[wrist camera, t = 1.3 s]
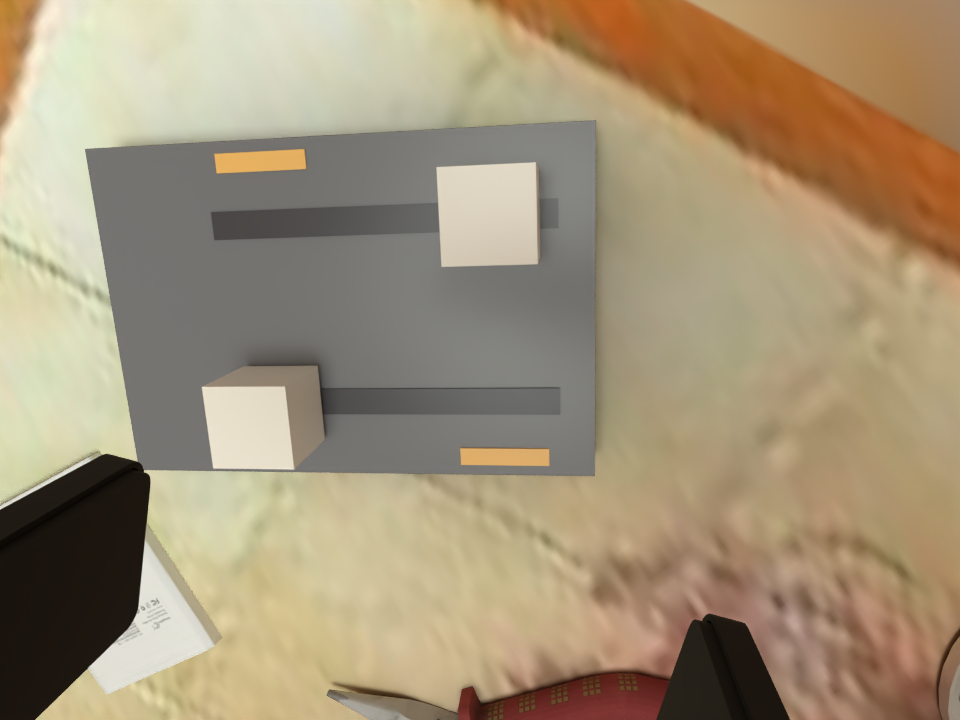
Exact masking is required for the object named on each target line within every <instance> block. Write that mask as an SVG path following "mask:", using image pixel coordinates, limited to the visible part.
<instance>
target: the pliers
mask: <svg viewBox="0 0 960 720" xmlns="http://www.w3.org/2000/svg"><path fill="white" fill-rule="evenodd" d="M669 682H670V681H668V680H663V679H658V678H654V677H649V676H645V675H640V674H635V673H611V674H603V675H596V676H591V677H586V678H582V679H578V680H574V681H571V682H567V683H563V684H560V685H556V686H552V687H549V688H545V689H541V690H538V691H534V692H530V693H527V694H523V695H519V696H516V697H512V698H508V699H505V700H501V701H497V702H494V703H490V704H486V705H483V706H482V705H481V703H480V701H479V699H478V696H477V694H476V692H475V690H474V688H473V687H469V688H465V689H462V691H461V697H460V702H459V707H458V714H456V713H453V712H450V711H447V710H444V709H442V708H439V707H436V706H433V705H430V704H427V703H423V702H419V701H415V700H411V699H403V698H394V697H386V696H378V695H370V694H362V693H354V692H346V691H338V690H329V691H328V693H327V696H328V697H330V698H332V699H334V700H336V701H338V702H339V703H341V704H343V705H345V706H347V707H348V708H350V709H352V710H354V711H356V712H358V713H359V714H361V715H363V716H365V717H367V718H369V719H370V720H656V719H657V716H658V713H659V710H660V707H661V705H662V702H663V699H664V696H665V693H666V690H667V688H668V685H669Z"/></svg>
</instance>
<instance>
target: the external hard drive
mask: <svg viewBox="0 0 960 720" xmlns="http://www.w3.org/2000/svg"><path fill="white" fill-rule="evenodd" d="M99 456H101V453H100V452H97V453H95V454H93V455H91V456H89V457H88V458H86V459H84V460H82V461H80V462H79V463H77V464H75V465H73V466H71V467H69V468H68V469H66V470H64V471H62V472H60V473H59V474H57V475H55V476H53V477H51V478H50V479H48V480H46V481H44V482H42V483H40V484H39V485H37V486H35V487H33V488H31V489H30V490H28V491H26V492H24V493H22V494H21V495H19V496H17V497H15V498H13V499H12V500H10V501H8V502H6V503H4V504H2V505H1V506H0V509H2V508H4V507H6V506H8V505H10V504H11V503H13V502H15V501H17V500H19V499H21V498H23V497H24V496H26V495H28V494H30V493H32V492H34V491H36V490H37V489H39V488H41V487H43V486H45V485H47V484H49V483H51V482H52V481H54V480H56V479H58V478H60V477H62V476H64V475H65V474H67V473H69V472H71V471H73V470H75V469H77V468H79V467H80V466H82V465H84V464H86V463H88V462H90V461H92V460H93V459H95V458H97V457H99ZM220 639H221V635H220V633H219V632H218V630H217V629H216V627H215V626H214V624H213V623H212V621H211V620H210V618H209V617H208V615H207V614H206V612H205V611H204V609H203V608H202V606H201V605H200V603H199V601H198V600H197V598H196V597H195V595H194V594H193V592H192V591H191V589H190V588H189V586H188V585H187V583H186V582H185V580H184V579H183V577H182V576H181V574H180V573H179V571H178V569H177V568H176V566H175V565H174V563H173V562H172V560H171V559H170V557H169V556H168V554H167V553H166V551H165V550H164V548H163V547H162V545H161V544H160V542H159V541H158V539H157V538H156V536H155V535H154V533H153V532H152V530H151V529H150V527H149V526H148V524H146V534H145V545H144V555H143V565H142V576H141V586H140V597H139V606H138V611H137V614H136V616H135V618H134V620H133V622H132V624H131V625H130V627H129V628H128V629H127V630H126V631H125V632H124V633H123V634H122V635H121V636H120V637H119V638H118V639H117V640H116V641H115V642H114V643H113V644H112V645H111V646H110V647H109V648H108V649H107V650H106V651H105V652H104V653H103V654H102V655H101V656H100V657H99V658H98V659H97V660H96V661H95V662H94V663H93V664H92V665H91V666H90V667H89V668H88V669H89V671H90V672H91V674H92V675H93V676H94V678H95V679H96V681H97V682H98V684H99V685H100V686H101V688H102V689H103V691H104V692H105V693H106V694H110V693H112V692H115V691H117V690H119V689H121V688H124V687H126V686H128V685H130V684H132V683H134V682H137V681H139V680H141V679H144V678H146V677H148V676H150V675H153V674H155V673H157V672H160V671H162V670H164V669H166V668H169V667H171V666H173V665H175V664H178V663H180V662H182V661H185V660H187V659H189V658H191V657H194V656H196V655H198V654H200V653H203V652H205V651H207V650H209V649H210V648H212V647H214V646H215V645H216V644H217V642H218V641H219V640H220Z"/></svg>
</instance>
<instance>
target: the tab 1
mask: <svg viewBox="0 0 960 720" xmlns="http://www.w3.org/2000/svg"><path fill="white" fill-rule="evenodd" d="M202 392H203V399H204V406H205V413H206V421H207V428H208V435H209V442H210V449H211V456H212V463H213V468H214V469H289V470H294V469H295V468H296V467H297V466H298V465H299V464H300V463H301V462H302V461H303V460H304V459H305V458H307V457H308V456H309V455H310V454H311V453H312V452H313V451H314V450H315V449H316V448H317V447H318V446H319V445H320V444H321V443H322V442H323V441H324V440H325V435H324V425H323V415H322V404H321V394H320V384H319V374H318V366H243V367H241V368H239V369H237V370H235V371H233V372H231V373H229V374H227V375H225V376H223V377H221V378H219V379H217V380H215V381H213V382H211V383H209V384H207V385H205V386H202Z"/></svg>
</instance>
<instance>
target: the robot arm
mask: <svg viewBox="0 0 960 720" xmlns="http://www.w3.org/2000/svg"><path fill="white" fill-rule="evenodd" d="M149 493H150V476H149V475H148V474H147V473H144V469H143V466H142V464H140V463H139V462H136V461H133V460H129V459H125V458H121V457H117V456H114V455H110V454H104V455H101V456H99V457H97V458H95V459H93V460H92V461H90V462H88V463H86V464H84V465H82V466H80V467H79V468H77V469H75V470H73V471H71V472H69V473H67V474H65V475H64V476H62V477H60V478H58V479H56V480H54V481H52V482H51V483H49V484H47V485H45V486H43V487H41V488H39V489H37V490H36V491H34V492H32V493H30V494H28V495H26V496H24V497H23V498H21V499H19V500H17V501H15V502H13V503H11V504H10V505H8V506H6V507H4V508H2V509H0V720H35V719H36V718H37V717H38V716H39V715H40V714H41V713H42V712H43V711H44V710H45V709H47V708H48V707H49V706H50V705H51V704H52V703H53V702H54V701H55V700H56V699H57V698H58V697H59V696H60V695H61V694H62V693H63V692H64V691H65V690H66V689H67V688H68V687H69V686H70V685H71V684H72V683H73V682H74V681H75V680H76V679H77V678H78V677H79V676H80V675H81V674H82V673H83V672H84V671H85V670H87V669H88V668H89V667H90V666H91V665H92V664H93V663H94V662H95V661H96V660H97V659H98V658H99V657H100V656H101V655H102V654H103V653H104V652H105V651H106V650H107V649H108V648H109V647H110V646H111V645H112V644H113V643H114V642H115V641H116V640H117V639H118V638H119V637H120V636H121V635H122V634H123V633H124V632H125V631H126V630H127V629H128V628H129V627H130V625H131V624H132V622H133V620H134V618H135V616H136V614H137V611H138V606H139V597H140V586H141V576H142V565H143V555H144V545H145V534H146V524H147V513H148V503H149ZM939 710H940V713H941V717H942V720H960V637H959V638H958V639H957V641H956V642H955V643H954V645H953V646H952V648H951V650H950V653H949V655H948V657H947V659H946V661H945V664H944V666H943V669H942V674H941V679H940V684H939ZM656 720H790V719H789V716H788V714H787V712H786V710H785V708H784V705H783V703H782V701H781V699H780V697H779V695H778V692H777V690H776V688H775V686H774V684H773V681H772V679H771V677H770V675H769V673H768V671H767V668H766V666H765V664H764V662H763V660H762V657H761V655H760V653H759V651H758V649H757V647H756V644H755V642H754V640H753V638H752V636H751V633H750V631H749V629H748V627H747V626H746V624H745V623H742V622H739V621H735V620H731V619H728V618H724V617H720V616H716V615H713V614H707V615H706V616H705V617H704V618H703V620H702V621H699V620H696V619H695V620H693V621H692V622H691V624H690V626H689V629H688V632H687V634H686V637H685V640H684V643H683V646H682V648H681V651H680V654H679V657H678V660H677V662H676V665H675V668H674V671H673V674H672V676H671V679H670V682H669V685H668V688H667V690H666V693H665V696H664V699H663V702H662V705H661V707H660V710H659V713H658V716H657V719H656Z"/></svg>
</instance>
